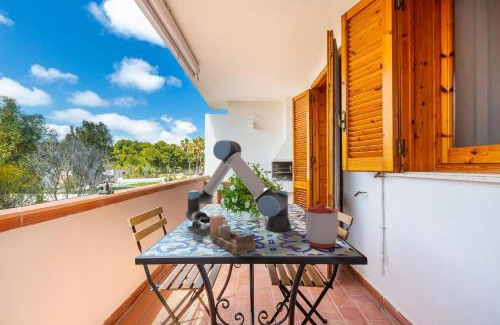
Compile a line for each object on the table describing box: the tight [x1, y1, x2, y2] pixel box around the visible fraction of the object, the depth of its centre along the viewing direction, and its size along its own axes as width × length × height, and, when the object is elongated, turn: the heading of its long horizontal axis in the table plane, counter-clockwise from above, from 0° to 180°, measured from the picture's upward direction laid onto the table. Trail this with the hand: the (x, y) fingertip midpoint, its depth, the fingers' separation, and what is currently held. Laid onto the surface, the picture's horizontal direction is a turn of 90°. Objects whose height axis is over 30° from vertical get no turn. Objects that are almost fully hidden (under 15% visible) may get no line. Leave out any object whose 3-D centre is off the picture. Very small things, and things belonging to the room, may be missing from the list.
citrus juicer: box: [301, 203, 339, 249], centre depth 123 cm, size 16×17×20 cm
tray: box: [211, 231, 257, 255], centre depth 123 cm, size 22×11×7 cm, turn 35°
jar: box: [209, 213, 224, 240], centre depth 137 cm, size 7×7×12 cm
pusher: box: [219, 224, 231, 240], centre depth 129 cm, size 1×6×7 cm, turn 125°
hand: (215, 224), depth 137 cm, fingers open, 13 cm apart
